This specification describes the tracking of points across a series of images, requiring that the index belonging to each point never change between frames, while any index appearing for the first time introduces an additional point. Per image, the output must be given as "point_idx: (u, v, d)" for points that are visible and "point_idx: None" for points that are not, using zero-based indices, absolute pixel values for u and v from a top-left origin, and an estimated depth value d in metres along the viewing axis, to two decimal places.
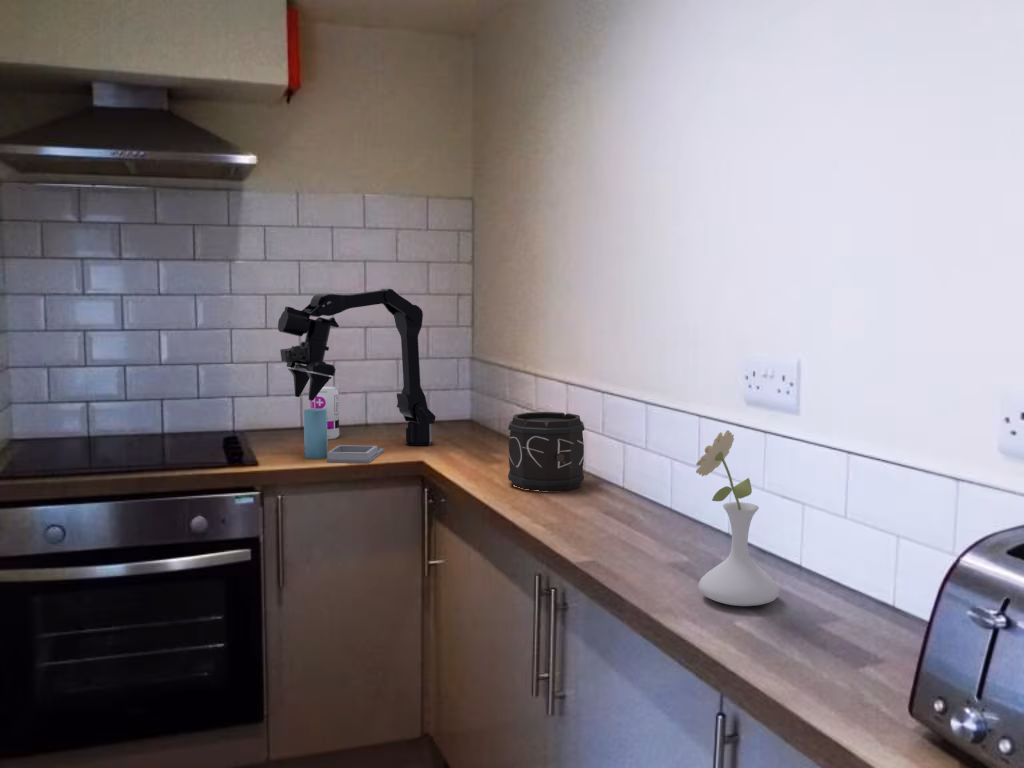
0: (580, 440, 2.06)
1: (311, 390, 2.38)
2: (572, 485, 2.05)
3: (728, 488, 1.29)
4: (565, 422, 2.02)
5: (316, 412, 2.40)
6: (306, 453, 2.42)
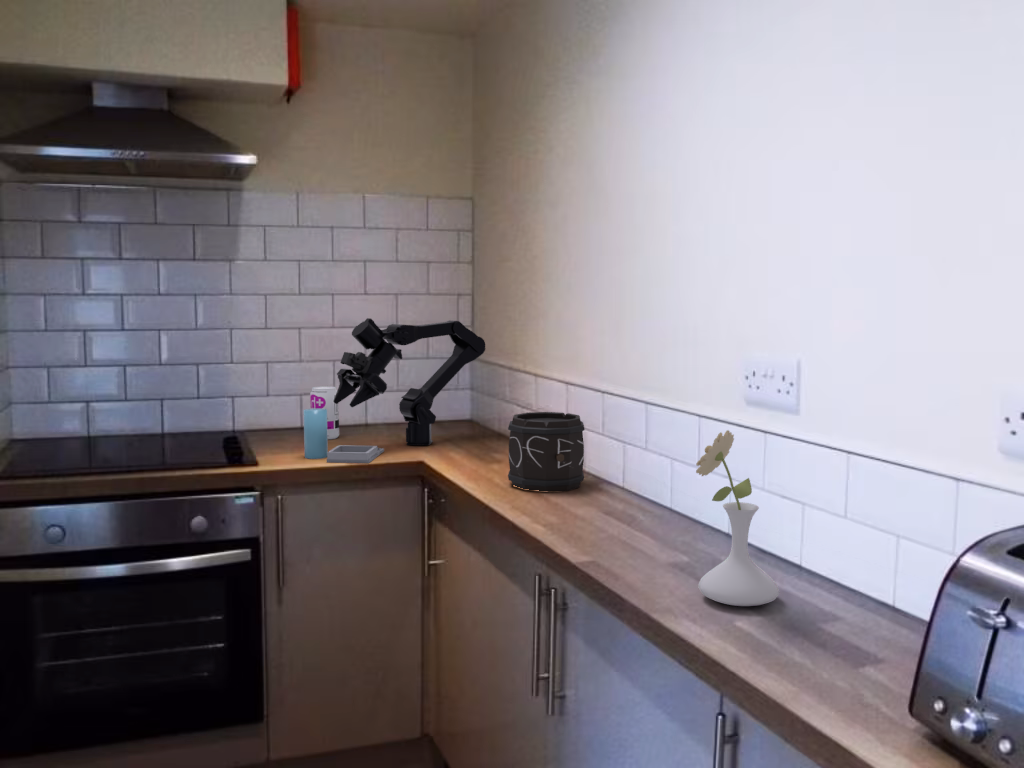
0: (580, 440, 2.06)
1: (356, 397, 2.44)
2: (572, 485, 2.05)
3: (728, 488, 1.29)
4: (565, 422, 2.02)
5: (316, 412, 2.40)
6: (306, 453, 2.42)
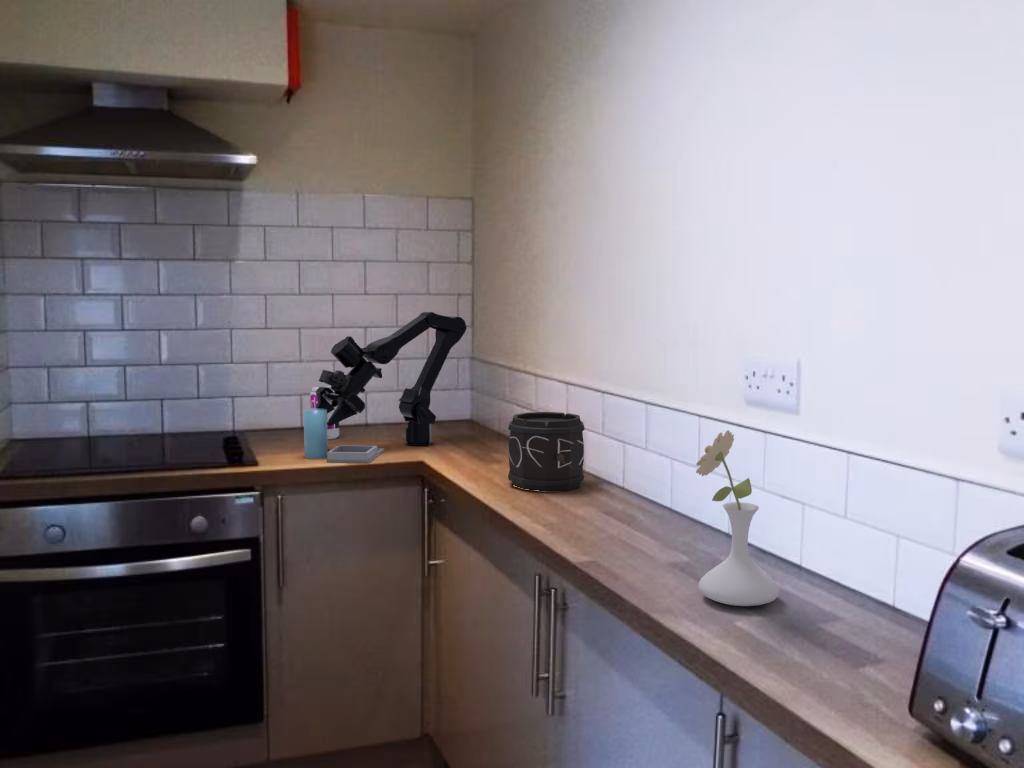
0: (581, 440, 2.06)
1: (333, 416, 2.41)
2: (572, 485, 2.05)
3: (728, 488, 1.29)
4: (565, 422, 2.02)
5: (316, 412, 2.40)
6: (306, 453, 2.42)
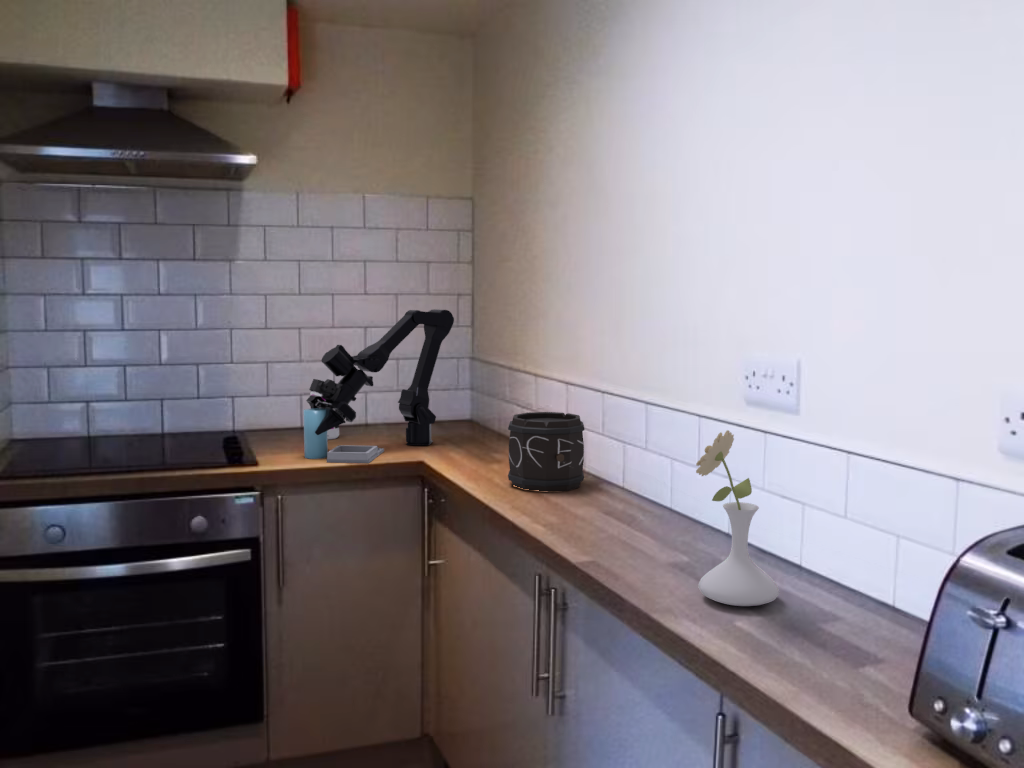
0: (580, 440, 2.06)
1: (322, 425, 2.40)
2: (572, 485, 2.05)
3: (728, 488, 1.29)
4: (565, 422, 2.02)
5: (316, 412, 2.40)
6: (306, 453, 2.42)
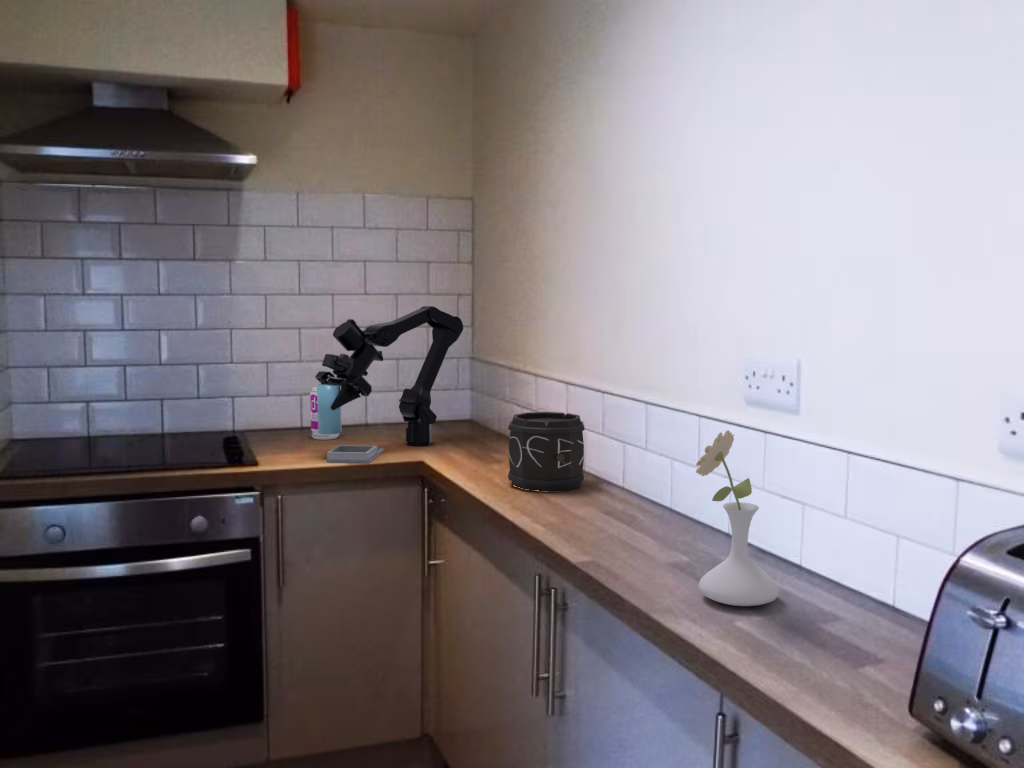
0: (581, 440, 2.06)
1: (337, 400, 2.38)
2: (572, 485, 2.05)
3: (728, 488, 1.29)
4: (565, 422, 2.02)
5: (331, 387, 2.38)
6: (321, 429, 2.40)
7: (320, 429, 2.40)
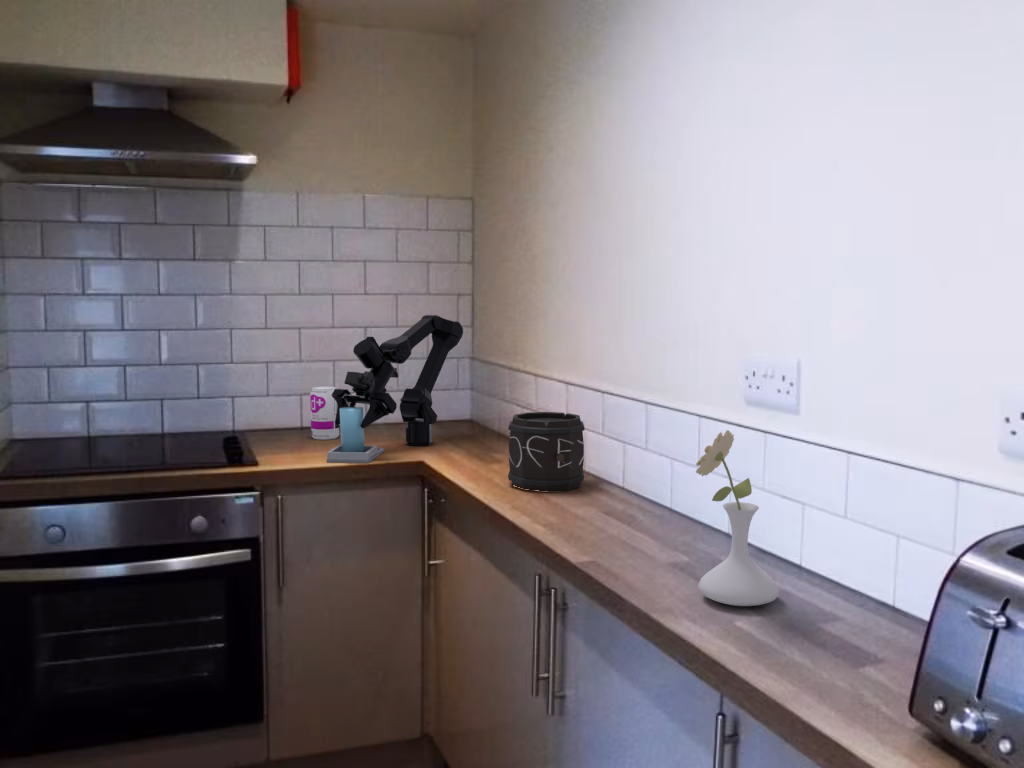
0: (581, 440, 2.06)
1: (367, 418, 2.37)
2: (572, 485, 2.05)
3: (728, 488, 1.29)
4: (565, 422, 2.02)
5: (356, 410, 2.38)
6: None
7: None
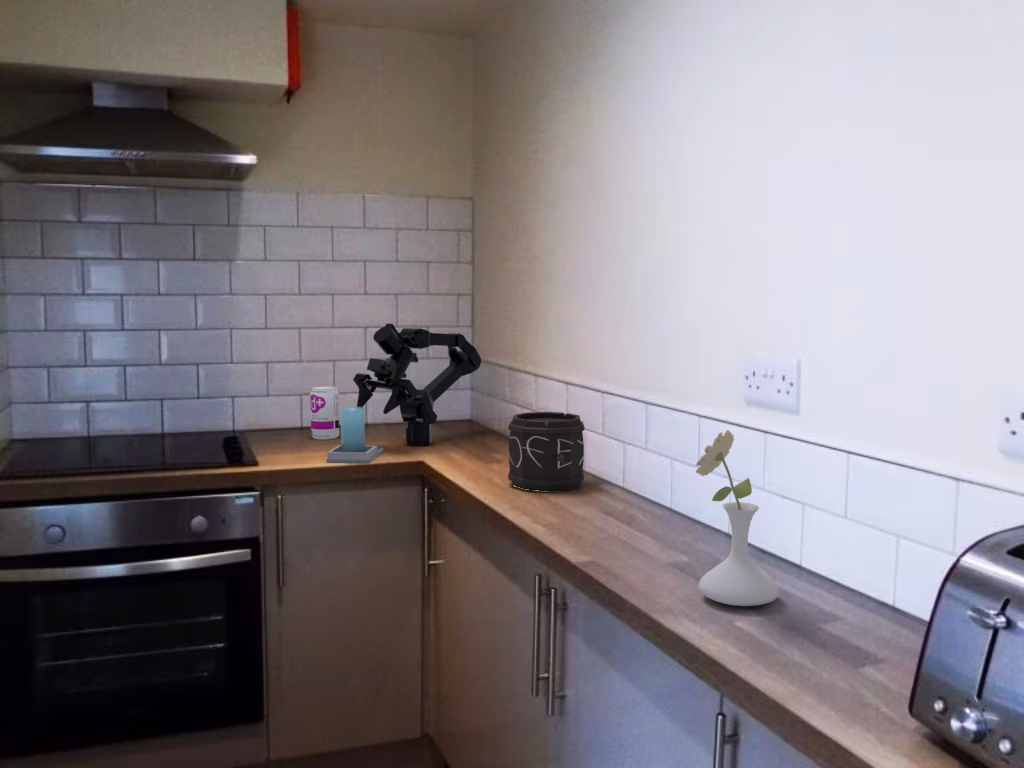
0: (581, 440, 2.06)
1: (389, 404, 2.45)
2: (572, 485, 2.05)
3: (728, 488, 1.29)
4: (565, 422, 2.02)
5: (357, 410, 2.38)
6: None
7: None
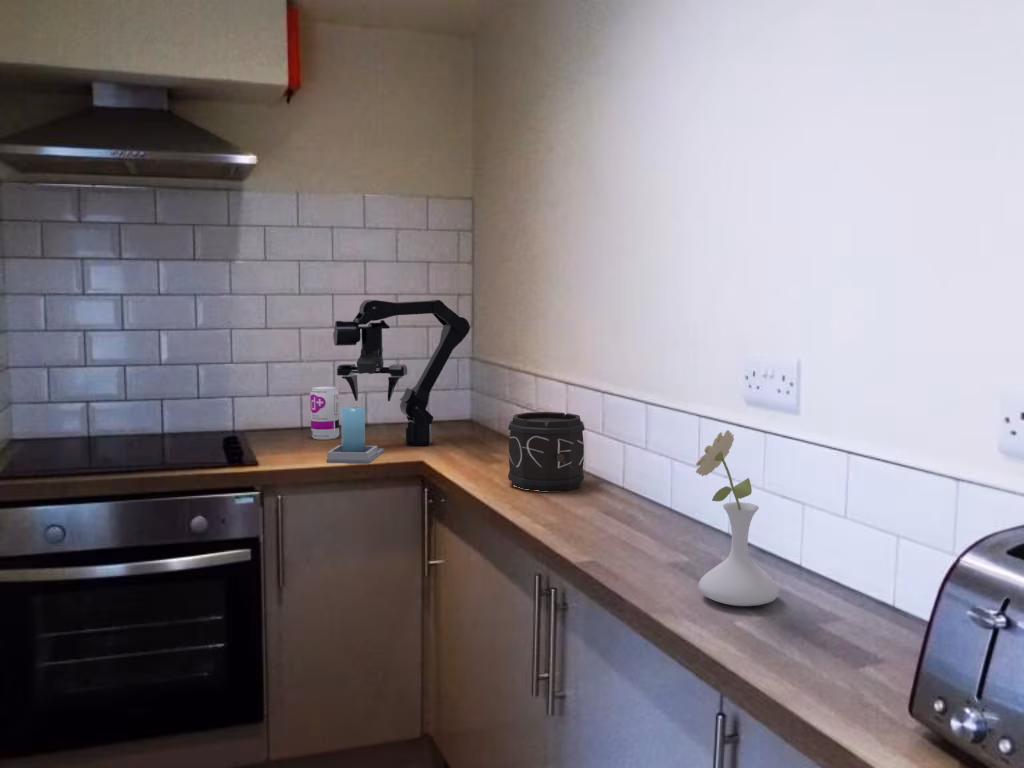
0: (581, 440, 2.06)
1: (391, 392, 2.56)
2: (572, 485, 2.05)
3: (728, 488, 1.29)
4: (565, 422, 2.02)
5: (358, 410, 2.38)
6: None
7: None
